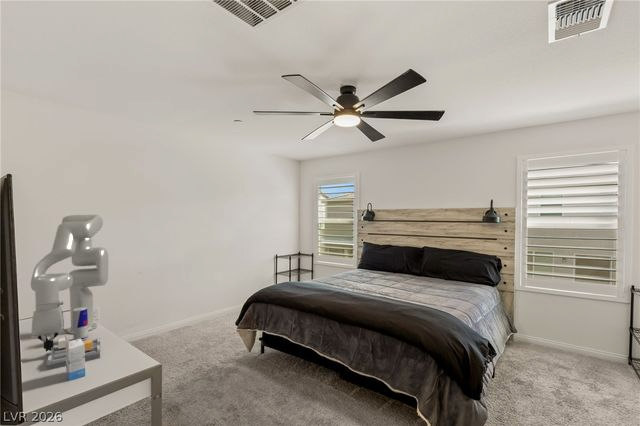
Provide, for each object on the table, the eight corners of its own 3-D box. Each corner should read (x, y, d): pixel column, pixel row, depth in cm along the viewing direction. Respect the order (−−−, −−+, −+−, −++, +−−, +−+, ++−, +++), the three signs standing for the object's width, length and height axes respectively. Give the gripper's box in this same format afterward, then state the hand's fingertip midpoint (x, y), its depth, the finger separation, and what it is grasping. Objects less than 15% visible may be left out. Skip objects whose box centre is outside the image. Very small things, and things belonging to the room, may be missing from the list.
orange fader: (84, 350, 135) (84, 340, 135) (92, 348, 136) (92, 339, 136) (84, 353, 131) (83, 344, 131) (92, 351, 133) (92, 342, 133)
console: (52, 352, 139) (52, 345, 139) (100, 342, 148) (99, 336, 148) (46, 370, 122) (46, 362, 122) (100, 358, 132) (99, 350, 132)
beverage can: (80, 342, 149) (79, 310, 149) (70, 341, 150) (69, 310, 150) (91, 337, 155) (90, 307, 154) (81, 337, 156) (80, 306, 156)
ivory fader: (59, 347, 138) (59, 338, 138) (67, 346, 139) (67, 336, 139) (58, 351, 134) (58, 341, 134) (66, 349, 136) (66, 340, 136)
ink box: (85, 376, 117) (84, 336, 117) (69, 381, 114) (67, 340, 114) (82, 368, 123) (81, 330, 123) (65, 373, 120) (64, 334, 120)
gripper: (70, 301, 141) (71, 342, 141) (25, 307, 133) (26, 351, 133) (69, 305, 135) (70, 348, 135) (21, 312, 127) (23, 358, 127)
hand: (48, 349), depth 134 cm, fingers closed
